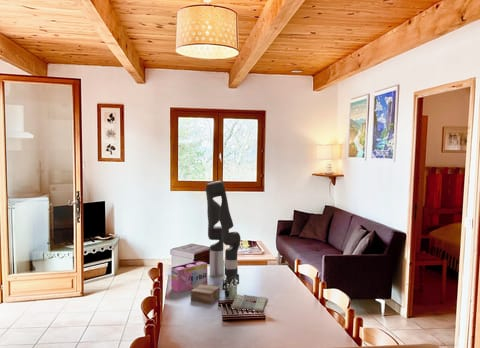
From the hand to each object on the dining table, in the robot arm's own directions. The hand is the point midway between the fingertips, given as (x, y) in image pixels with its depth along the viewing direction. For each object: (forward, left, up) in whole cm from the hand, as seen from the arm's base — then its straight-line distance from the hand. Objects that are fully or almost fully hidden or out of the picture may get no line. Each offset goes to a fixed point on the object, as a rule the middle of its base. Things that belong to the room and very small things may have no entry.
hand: (230, 294), depth 214 cm
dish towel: (+4, +15, -2) cm, 16 cm away
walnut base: (+11, -10, -1) cm, 15 cm away
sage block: (0, 0, -1) cm, 1 cm away
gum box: (0, -30, -1) cm, 30 cm away
